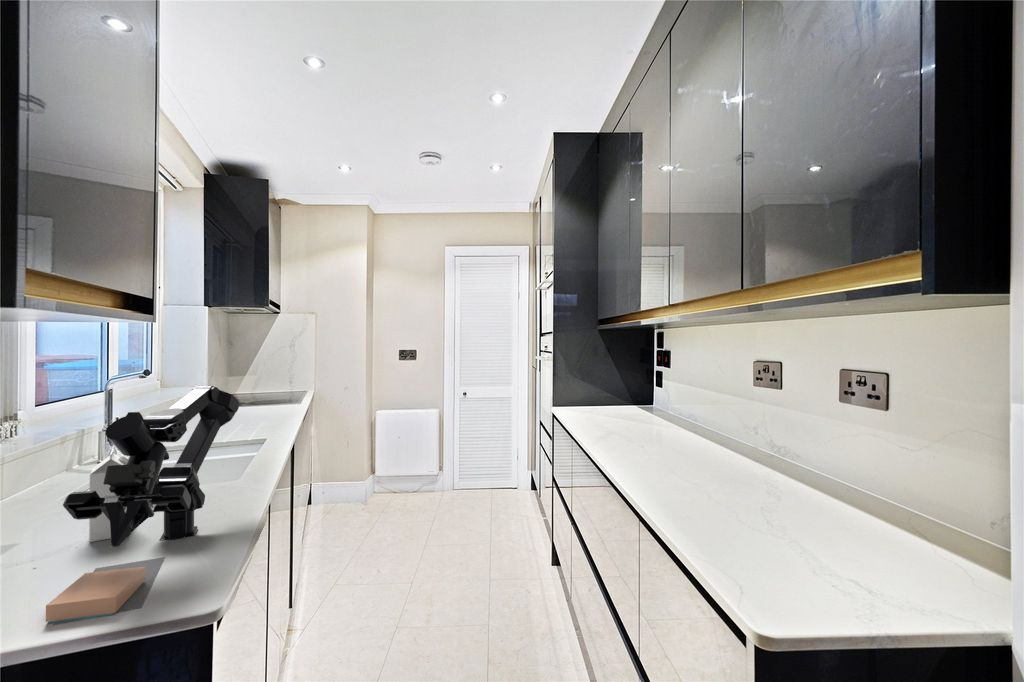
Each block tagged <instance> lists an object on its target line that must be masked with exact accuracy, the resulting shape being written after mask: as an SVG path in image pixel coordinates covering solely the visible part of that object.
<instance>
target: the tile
mask: <svg viewBox="0 0 1024 682" xmlns="http://www.w3.org/2000/svg"><path fill="white" fill-rule="evenodd" d="M145 578H146V566H144V567H135V568H126V569H117V570H108V571H99V572H93V571H91V572H85V573H83V575H81V576H80V577H79V578H77V579H76V580H75V581H74V582H73V583H71V584H70V585H69V586H68V587H66V588H65V589H64V590H63V591H61V592H60V593H59V594H58V595H56V597H55V598H53V599H52V600H51V601H50V602H49V603H47V604H46V605H45V622H47V624H54V623H55V622H62V621H70V620H77V619H83V620H86V619H85V618H89V619H93V618H92V617H94V618H98V617H106V616H114V615H115V614H116V613H115V612H116V611H117V610H118V609H119V608H120V607H121V606H122V605H123V604H124V603H125V602H126V601H127V600H128V598H129V597H130V596H131V595H132V594H133V593H134V592H135V591H136V590H137V589H138V588H139V587H140V586H141V584H142V583H143V582H144V581H145Z"/></svg>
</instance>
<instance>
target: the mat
mask: <svg viewBox="0 0 1024 682" xmlns="http://www.w3.org/2000/svg"><path fill="white" fill-rule="evenodd" d="M165 559H166V556H163V557H157V558H151V559H147V560H146V559H145V560H138V561H132V562H126V563H120V564H114V565H107V566H102V567H96V568H95V569H94V570H93V571H92V572H99V571H108V570H117V569H126V568H135V567H144V566H146V578H145V581H144V582H143V583H142V584H141V586H140V587H139V588H138V589H137V590H136V591H135V592H134V593H133V594H132V595H131V596H130V597H129V598H128V600H127V601H126V602H125V603H124V604H123V605H122V606H121V607H120V608H119V609H118V610H117V611H116V612H115V613H114V614H117V613H122V612H123V613H124V612H129V611H134V610H138V609H142V608H143V605H144V603H145V602H146V599H147V597H148V594H149V593H150V590H151V588H152V587H153V584H154V582H155V581H156V578H157V576H158V574H159V572H160V569H161V568H162V565H163V563H164V561H165ZM93 618H95V617H92V618H91V619H93ZM89 619H90V618H85V619H77V620H70V621H62V622H55V623H52V626H57V625H63V624H67V623H72V622H78V621H83V620H89Z"/></svg>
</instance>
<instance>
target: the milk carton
mask: <svg viewBox="0 0 1024 682" xmlns="http://www.w3.org/2000/svg"><path fill="white" fill-rule="evenodd" d="M114 451H115V450H114V448H112V449H111V451H110V454H109V455H108V456H107V457H106V458H104V459H103V460H102V461H101V462H99V463H98V464H96V466H94V467H93V468H92V470H91V471H90V472H89V491H96V492H97V494H98V495H99V496H100V498H104V497H105V495H115V493H111V492H110V490H109V488H110V485H108V484H106V485H104V484H103V483H104V478H105V474H106V469H107V466H112V465H126V464H127V462H128V459H129V456H125V455H123V454H121V455H120V456H119V455H118V454H115V453H114ZM126 509H127V507H126ZM126 509H125V513H126ZM88 520H89V522H88V524H89V529H88V532H89V533H88V535H89V537H88V539H89V540H88V541H89V543H92V542H97V541H105V540H111V529H110V520H109V519H108V518H107V517H106V515H105V514H104V513H103V512H102V514H101V515H99V516H98V517H96V518H92V519H88Z"/></svg>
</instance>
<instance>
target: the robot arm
mask: <svg viewBox="0 0 1024 682" xmlns="http://www.w3.org/2000/svg"><path fill="white" fill-rule="evenodd" d="M239 406H240V402H239V400H238V398H237V397H236V396H235V395H233V394H232V393H229V392H228V391H227V392H226V391H224V390H221V389H219V388H218V387H217V386H214V385H197V386H194V387H193V388H192V389H191V391H190V392H188V394H186V395H184V397H182V398H181V399H179V400H178V401H177V402H176V403H174V404H173V405H171V407H168V408H167V409H164V410H160V411H155V412H152V413H150V414H148V415H146V416H145V417H143V414H142V413H141V412H140V411H128V412H127V414H126V415H125V416H123V417H120V418H118V419H116V420H115V421H112V423H111V424H108V425H107V427H106V429H105V437H107V439H108V440H109V441H110V442H111V443H112V444H113V446H114V447H116V449H117V450H118V451H119V452H120V453H121V455H125V456H127V457H128V458H129V459H128V462H127V464H126V465H112V466H107V469H106V474H105V478H104V483H103V484H104V485H106V484H108V485H110V488H109V490H110V492H111V493H115V495H105V497H104V498H100V496H99V495H98V494H97V492H96V491H90V490H87V491H85V490H84V491H73V492H71V493H69V494H68V495H67V496H66V497H65V499H64V501H63V503H62V506H63V508H64V509H65V510H66V511H67V513H68V514H70V516H71V517H72V518H73V519H74V520H89V519H92V518H96V517H98V516H99V515H101V514H102V512H103V513H104V514H105V515H106V517H107V518H108V519H109V520H110V529H111V538H110V545H111V546H112V547H113V548H116V547H119V546H120V545H122V543H124V542H125V540H127V538H128V537H129V536H130V535H131V534H132V533H133V532H134V531H135V530H136V529H137V528H138V527H140V525H142V524H143V523H144V522H145V521H146V520H148V519H149V518H153V517H154V516H155V513H157V512H158V513H159V512H161V513H163V532H162V534H161V536H160V538H159V540H158V541H160V542H162V541H169V540H170V541H171V540H175V539H176V540H178V539H183V538H187V537H188V538H189V537H195V536H196V533H197V530H198V526H197V525H195V511H196V510H199V509H202V508H204V507H203V506H204V505H205V499H206V494H205V493H204V491H203V490H202V489H201V488H200V485H201V484H200V480H199V476H198V473H199V471H200V469H201V467H202V464H203V462H204V460H205V459H206V457H207V455H208V452H209V451H210V448H211V446H212V444H213V443H214V440H215V439H216V436H217V435H218V432H219V430H220V428H221V427H223V426H224V425H226V424H228V423H229V422H230V421H232V420H233V418H234V417H235V415H236V413H237V412H238V411H239ZM198 414H199V417H200V419H199V421H198V423H197V425H196V427H194V431H192V433H191V436H190V437H189V439H188V441H187V443H186V445H185V447H184V448H183V450H182V452H181V454H180V455H179V458H178V459H177V461H176V463H175V464H174V465H173V466H163V467H162V465H163V462H164V461H167V460H169V459H170V454H169V452H168V451H167V447H166V446H165V445H164V443H177V442H178V441H180V439H181V438H182V437H183V436H184V434H186V433H187V431H188V427H187V424H188V423H189V422H190V421H191V420H192V419H194V418H195V417H196V416H197V415H198ZM126 507H127V509H126ZM125 509H126V513H125Z"/></svg>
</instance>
